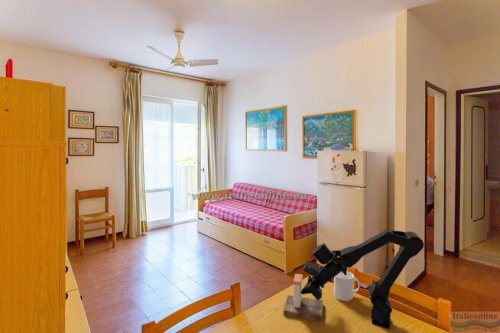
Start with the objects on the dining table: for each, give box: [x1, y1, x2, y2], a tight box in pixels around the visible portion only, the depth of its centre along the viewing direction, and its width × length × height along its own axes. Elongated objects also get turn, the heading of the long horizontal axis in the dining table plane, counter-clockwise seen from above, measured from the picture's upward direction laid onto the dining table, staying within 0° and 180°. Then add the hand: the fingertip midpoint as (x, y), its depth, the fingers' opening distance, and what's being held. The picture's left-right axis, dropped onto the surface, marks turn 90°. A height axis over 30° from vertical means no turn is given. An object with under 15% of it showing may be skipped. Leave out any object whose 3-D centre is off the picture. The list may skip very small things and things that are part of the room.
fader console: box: [283, 295, 324, 322], centre depth 121 cm, size 16×12×2 cm
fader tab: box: [292, 273, 304, 308], centre depth 121 cm, size 3×7×12 cm, turn 164°
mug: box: [333, 270, 361, 302], centre depth 131 cm, size 9×12×11 cm
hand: (301, 293), depth 121 cm, fingers closed, pressing on fader tab
